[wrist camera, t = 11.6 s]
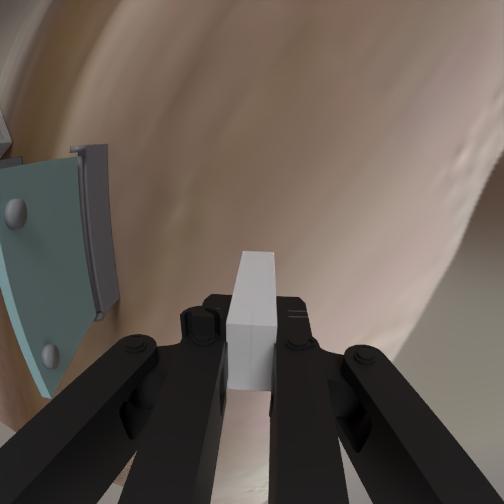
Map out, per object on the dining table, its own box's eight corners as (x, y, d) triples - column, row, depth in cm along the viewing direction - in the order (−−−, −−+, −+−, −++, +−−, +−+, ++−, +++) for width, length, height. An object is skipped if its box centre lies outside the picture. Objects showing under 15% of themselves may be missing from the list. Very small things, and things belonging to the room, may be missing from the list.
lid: (-18, 173, 9) (-1, 169, 9) (75, 156, 19) (89, 155, 19) (42, 397, 13) (58, 400, 13) (93, 307, 23) (105, 308, 23)
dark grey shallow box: (17, 157, 23) (-14, 162, 18) (109, 144, 22) (79, 145, 18) (34, 286, 27) (9, 304, 23) (121, 297, 27) (100, 322, 23)
